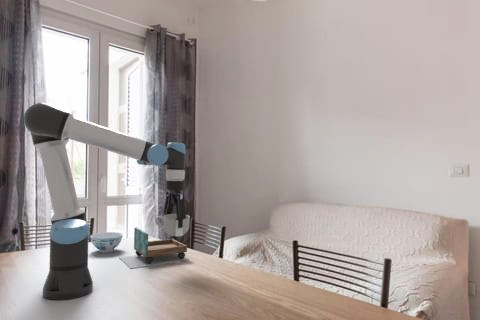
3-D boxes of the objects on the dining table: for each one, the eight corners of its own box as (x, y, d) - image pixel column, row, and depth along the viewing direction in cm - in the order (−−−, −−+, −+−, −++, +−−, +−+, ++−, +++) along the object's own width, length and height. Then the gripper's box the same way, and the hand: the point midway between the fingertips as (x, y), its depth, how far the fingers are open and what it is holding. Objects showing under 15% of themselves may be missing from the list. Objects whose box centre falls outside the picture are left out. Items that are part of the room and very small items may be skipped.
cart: (186, 258, 159) (187, 229, 159) (145, 264, 149) (146, 233, 149) (172, 250, 174) (172, 224, 174) (133, 255, 163) (134, 227, 163)
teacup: (191, 233, 150) (192, 214, 150) (185, 238, 139) (186, 218, 140) (160, 231, 152) (161, 212, 152) (151, 236, 141) (152, 216, 141)
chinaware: (128, 250, 176) (129, 234, 176) (103, 256, 163) (103, 239, 163) (109, 245, 184) (109, 231, 184) (83, 251, 171) (83, 235, 171)
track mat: (188, 260, 159) (188, 259, 159) (130, 268, 145) (130, 268, 145) (172, 251, 175) (172, 250, 175) (119, 258, 161) (119, 257, 161)
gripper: (195, 181, 137) (193, 237, 137) (173, 178, 157) (171, 228, 157) (177, 181, 133) (175, 239, 133) (156, 178, 153) (155, 229, 152)
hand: (173, 233), depth 145 cm, fingers closed on teacup, 11 cm apart
